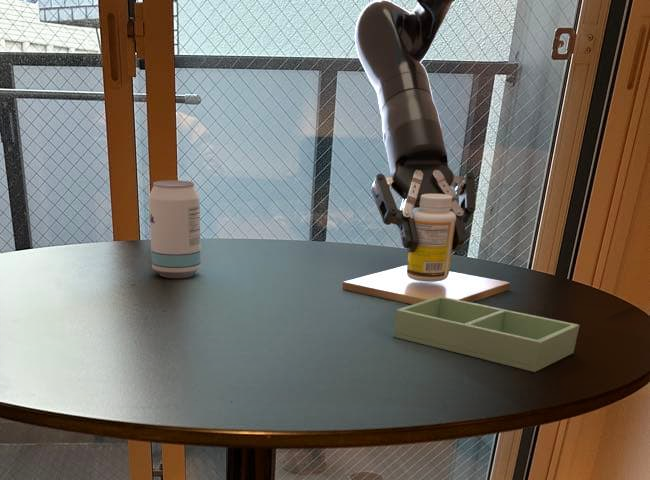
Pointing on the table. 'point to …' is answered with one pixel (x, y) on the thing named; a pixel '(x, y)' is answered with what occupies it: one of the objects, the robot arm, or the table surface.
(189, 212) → the beverage can
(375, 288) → the mat
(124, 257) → the table surface
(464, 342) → the divided tray
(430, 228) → the supplement bottle
